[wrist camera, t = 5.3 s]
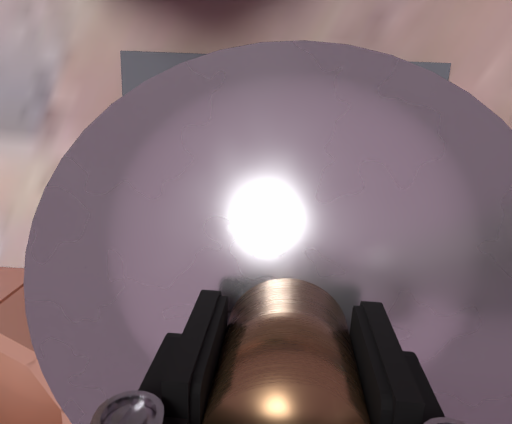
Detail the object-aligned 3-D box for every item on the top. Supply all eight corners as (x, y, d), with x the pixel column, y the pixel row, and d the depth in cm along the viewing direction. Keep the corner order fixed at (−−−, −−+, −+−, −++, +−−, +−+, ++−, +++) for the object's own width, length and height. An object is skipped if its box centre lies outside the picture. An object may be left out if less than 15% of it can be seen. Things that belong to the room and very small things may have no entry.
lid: (630, 52, 10) (958, 19, 5) (501, 534, 15) (609, 763, 10) (6, 35, 11) (-221, -7, 6) (64, 490, 16) (-41, 678, 11)
